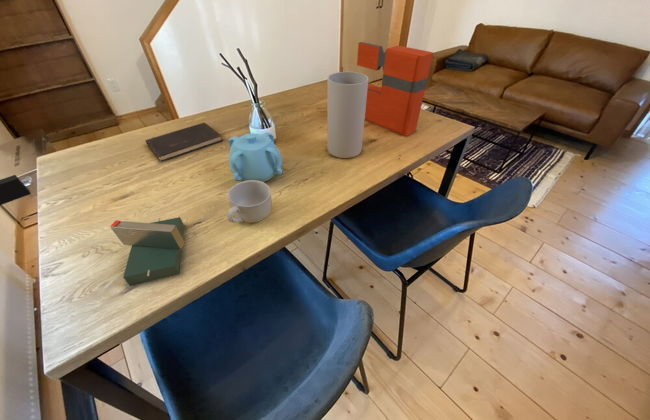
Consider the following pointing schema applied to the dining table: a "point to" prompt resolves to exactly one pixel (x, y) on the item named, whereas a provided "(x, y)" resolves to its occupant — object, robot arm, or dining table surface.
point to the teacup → (249, 201)
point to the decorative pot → (254, 157)
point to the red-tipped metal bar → (148, 234)
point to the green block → (153, 259)
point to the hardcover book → (183, 141)
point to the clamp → (395, 85)
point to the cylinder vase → (346, 113)
